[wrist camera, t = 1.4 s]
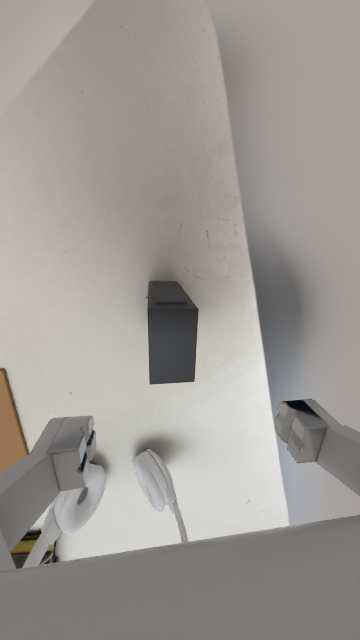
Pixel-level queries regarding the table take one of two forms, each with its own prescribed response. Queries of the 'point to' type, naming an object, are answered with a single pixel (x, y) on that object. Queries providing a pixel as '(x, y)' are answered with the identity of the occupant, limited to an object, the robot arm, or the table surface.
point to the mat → (9, 428)
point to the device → (171, 333)
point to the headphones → (81, 503)
